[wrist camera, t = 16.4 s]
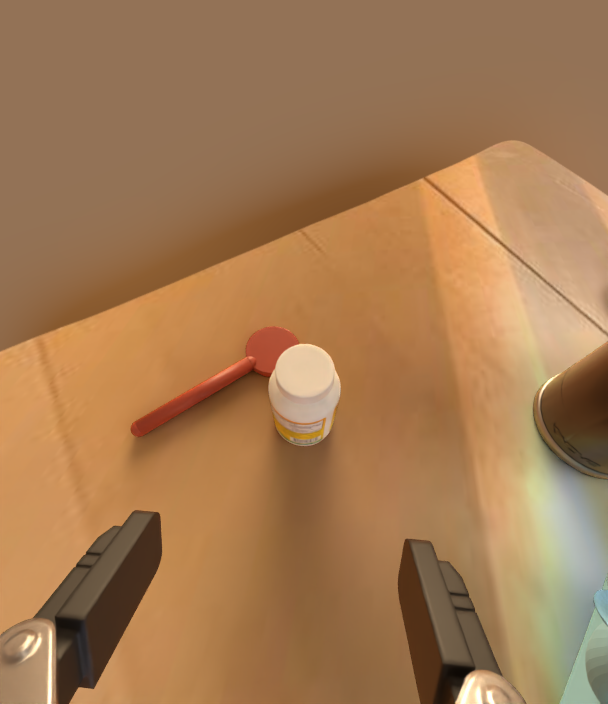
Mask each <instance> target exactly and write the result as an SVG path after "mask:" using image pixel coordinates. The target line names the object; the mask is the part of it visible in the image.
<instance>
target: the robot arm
mask: <svg viewBox="0 0 608 704" xmlns="http://www.w3.org/2000/svg"><path fill="white" fill-rule="evenodd" d="M533 411H534V418H535V422H536V425H537V428H538V430H539V432H540V434H541V436H542V438H543V439H544V441H545V442H546V443H547V445H548V446H549V447H550V449H551V450H552V451H553V452H554V453H555V454H556V455H557V456H558V457H559V458H561V459H562V460H563V461H564V462H566V463H567V464H568V465H570V466H571V467H573V468H575V469H576V470H578V471H580V472H582V473H585V474H587V475H590V476H593V477H597V478H602V479H608V341H607V342H606V343H604V344H603V345H602V346H600V347H599V348H597V349H596V350H594V351H593V352H591V353H590V354H589V355H587V356H586V357H584V358H583V359H581V360H580V361H578V362H577V363H575V364H574V365H572V366H571V367H569V368H568V369H567V370H565V371H564V372H562V373H561V374H559V375H556V376H554V377H553V378H551V379H550V380H548V381H547V382H546V383H544V384H543V385H542V386H541V387H540V389H539V390H538V392H537V394H536V396H535V399H534V405H533ZM161 556H162V538H161V521H160V514H159V513H158V512H149V511H139V510H135V511H133V512H132V513H131V515H130V516H129V517H128V519H127V520H126V521H125V523H124V524H123V525H122V527H121V526H113V527H112V528H110V529H109V530H108V531H106V532H105V533H104V534H102V535H101V536H99V537H98V538H97V539H96V541H95V542H94V543H93V544H92V546H91V547H90V548H89V549H88V551H87V552H86V555H84V556H83V557H82V558H81V559H80V561H79V562H78V563H77V565H76V567H74V568H73V569H72V570H71V572H70V573H69V574H68V575H67V577H66V578H65V579H64V580H63V582H62V583H61V584H60V585H59V587H58V588H57V589H56V590H55V592H54V593H53V594H52V595H51V597H50V598H49V599H48V600H47V602H46V603H45V604H44V605H43V606H42V608H41V609H40V610H39V611H38V613H37V614H36V615H35V616H34V617H33V618H32V619H28V620H25V621H22V622H20V623H18V624H16V625H14V626H12V627H11V628H9V629H8V630H6V631H5V632H3V633H2V634H1V635H0V704H69V702H70V701H71V699H72V697H73V696H74V694H75V692H76V690H77V689H78V687H83V688H91V689H94V687H95V686H96V684H97V682H98V680H99V678H100V676H101V674H102V672H103V671H104V669H105V667H106V665H107V663H108V661H109V659H110V658H111V656H112V654H113V652H114V650H115V648H116V646H117V644H118V643H119V641H120V639H121V637H122V635H123V633H124V631H125V630H126V628H127V626H128V624H129V622H130V620H131V618H132V617H133V615H134V613H135V611H136V609H137V607H138V605H139V603H140V602H141V600H142V598H143V596H144V594H145V592H146V590H147V589H148V587H149V585H150V583H151V581H152V579H153V577H154V575H155V574H156V572H157V569H158V567H159V564H160V560H161ZM398 593H399V600H400V605H401V610H402V615H403V620H404V625H405V630H406V635H407V640H408V644H409V649H410V654H411V659H412V664H413V669H414V674H415V679H416V684H417V688H418V693H419V698H420V703H421V704H526V702H525V700H524V699H523V697H522V696H521V694H520V693H519V692H518V691H517V690H516V688H515V687H514V686H513V685H511V684H510V683H509V682H508V681H507V680H506V679H504V677H503V676H502V674H501V672H500V669H499V667H498V664H497V662H496V660H495V657H494V655H493V652H492V650H491V647H490V645H489V643H488V640H487V638H486V635H485V633H484V630H483V628H482V625H481V623H480V621H479V618H478V616H477V613H475V608H474V606H473V603H472V601H471V599H470V598H469V594H468V591H467V589H466V586H465V584H464V582H463V579H462V577H461V576H460V574H459V573H458V572H457V571H456V570H455V568H454V567H453V566H452V565H451V564H450V562H448V561H438V559H437V556H436V553H435V551H434V548H433V545H432V543H431V542H430V541H425V540H415V539H405V542H404V547H403V553H402V558H401V564H400V570H399V576H398Z"/></svg>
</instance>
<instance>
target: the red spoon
mask: <svg viewBox="0 0 608 704" xmlns="http://www.w3.org/2000/svg"><path fill="white" fill-rule="evenodd" d="M295 345H299V343H298V340H297V338H296V337H295V336H294V334H293V333H291V332H290V331H288V330H287V329H284V328H281V327H266V328H263V329H261V330H259V331H257V332H256V333H254V334H253V335H252V336H251V338H250V339H249V341H248V343H247V345H246V357H245V358H243V359H242V360H240V361H238V362H237V363H235V364H233V365H231V366H230V367H228V368H226V369H225V370H223V371H221V372H219V373H218V374H216V375H214V376H213V377H211V378H209V379H207V380H206V381H204V382H202V383H200V384H199V385H197V386H195V387H194V388H192V389H190V390H188V391H187V392H185V393H183V394H182V395H180V396H178V397H176V398H175V399H173V400H171V401H169V402H168V403H166V404H164V405H163V406H161V407H159V408H157V409H156V410H154V411H152V412H151V413H149V414H147V415H145V416H144V417H142V418H140V419H138V420H137V421H135V422H134V423H133V424H132V425H131V432H132V434H133V435H135V436H138V437H139V436H143V435H145V434H147V433H148V432H150V431H152V430H153V429H155V428H157V427H158V426H160V425H162V424H163V423H165V422H167V421H168V420H170V419H172V418H173V417H175V416H177V415H178V414H180V413H182V412H183V411H185V410H187V409H189V408H190V407H192V406H194V405H195V404H197V403H199V402H200V401H202V400H204V399H205V398H207V397H209V396H210V395H212V394H214V393H215V392H217V391H219V390H220V389H222V388H224V387H225V386H227V385H229V384H230V383H232V382H234V381H235V380H237V379H239V378H241V377H242V376H244V375H246V374H247V373H249V372H251V371H252V370H254V371H255V372H257V373H258V374H260V375H263V376H267V377H271V375H272V373H273V371H274V369H275V367H276V363H277V360H278V359H279V357H280V356H281V354H282V353H283V352H284V351H285V350H287V349H288V348H290V347H292V346H295Z"/></svg>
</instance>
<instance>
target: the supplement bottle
mask: <svg viewBox="0 0 608 704" xmlns="http://www.w3.org/2000/svg"><path fill="white" fill-rule="evenodd" d="M268 393H269V398H270V403H271V408H272V413H273V418H274V422H275V426H276V429H277V431H278V432H279V434H280V435H281V436H282V437H283V438H284V439H285V440H286V441H288V442H290V443H292V444H295V445H299V446H310V445H314V444H316V443H318V442H320V441H322V440H323V439H324V438H325V437H326V436H327V435H328V434H329V432H330V430H331V428H332V426H333V422H334V418H335V414H336V410H337V406H338V402H339V399H340V393H341V385H340V380H339V377H338V375H337V373H336V371H335V368H334V363H333V361H332V359H331V357H330V356H329V355H328V354H327V353H326V352H325V351H324V350H323V349H321V348H319V347H317V346H314V345H310V344H299V345H295V346H292V347H290V348H288V349H287V350H285V351H284V352H283V353H282V354H281V356H280V357H279V359H278V360H277V363H276V367H275V369H274V371H273V373H272V375H271V377H270V380H269V385H268Z"/></svg>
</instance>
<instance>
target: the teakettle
mask: <svg viewBox="0 0 608 704" xmlns="http://www.w3.org/2000/svg"><path fill="white" fill-rule="evenodd" d="M594 604H595V609H594V612H593V615H592V617H591V620H590V623H589V625H588V628H587V631H586V634H585V636H584V639H583V642H582V644H581V647H580V650H579V652H578V655H577V658H576V660H575V663H574V666H573V669H572V671H571V674H570V677H569V679H568V682H567V685H566V688H565V690H564V693H563V696H562V698H561V701H560V704H608V574H607V577H606V579H605V582H604V585H603V587H602V590H598V591H597V592H596V593H595V594H594Z"/></svg>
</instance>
